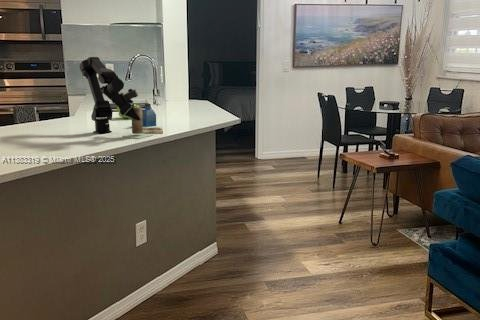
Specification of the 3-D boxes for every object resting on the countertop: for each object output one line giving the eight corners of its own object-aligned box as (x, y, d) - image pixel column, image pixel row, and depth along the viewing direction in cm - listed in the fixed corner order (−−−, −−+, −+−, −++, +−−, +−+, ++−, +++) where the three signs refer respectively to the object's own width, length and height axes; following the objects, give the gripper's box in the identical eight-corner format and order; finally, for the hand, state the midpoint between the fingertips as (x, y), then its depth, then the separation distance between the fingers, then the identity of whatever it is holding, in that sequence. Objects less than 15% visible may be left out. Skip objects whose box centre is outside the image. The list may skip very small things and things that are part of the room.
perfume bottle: (149, 124, 253) (149, 102, 251) (156, 125, 249) (155, 103, 246) (140, 125, 249) (139, 103, 246) (146, 127, 245) (145, 104, 242)
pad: (122, 136, 217) (122, 135, 217) (136, 133, 225) (136, 132, 225) (138, 139, 212) (138, 138, 212) (152, 135, 221) (152, 134, 221)
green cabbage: (116, 117, 276) (115, 101, 274) (135, 116, 282) (134, 100, 279) (121, 120, 266) (120, 103, 264) (140, 119, 271) (140, 102, 269)
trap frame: (140, 133, 225) (140, 131, 225) (140, 129, 236) (140, 127, 235) (162, 133, 227) (162, 131, 227) (162, 129, 238) (162, 127, 237)
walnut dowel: (129, 132, 217) (129, 107, 215) (136, 131, 222) (136, 106, 219) (137, 134, 215) (137, 108, 212) (144, 132, 219) (144, 107, 217)
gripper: (126, 85, 203) (152, 109, 208) (128, 82, 221) (151, 104, 226) (108, 102, 204) (134, 126, 208) (111, 98, 221) (135, 120, 226)
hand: (139, 119), depth 217 cm, fingers closed on walnut dowel, 5 cm apart
